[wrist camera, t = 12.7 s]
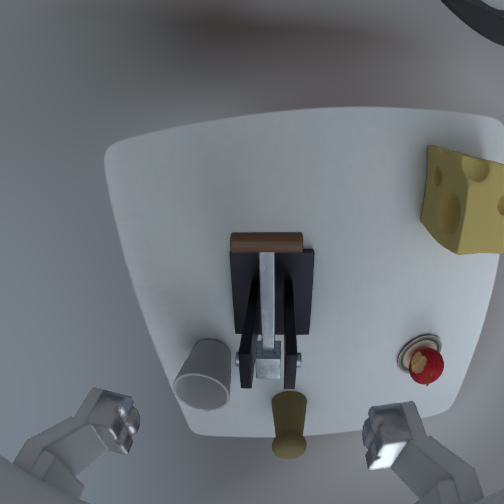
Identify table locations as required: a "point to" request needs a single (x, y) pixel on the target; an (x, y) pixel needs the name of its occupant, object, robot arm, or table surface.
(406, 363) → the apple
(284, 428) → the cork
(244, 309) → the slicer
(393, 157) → the table surface
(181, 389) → the cup
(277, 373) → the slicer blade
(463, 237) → the cheese
